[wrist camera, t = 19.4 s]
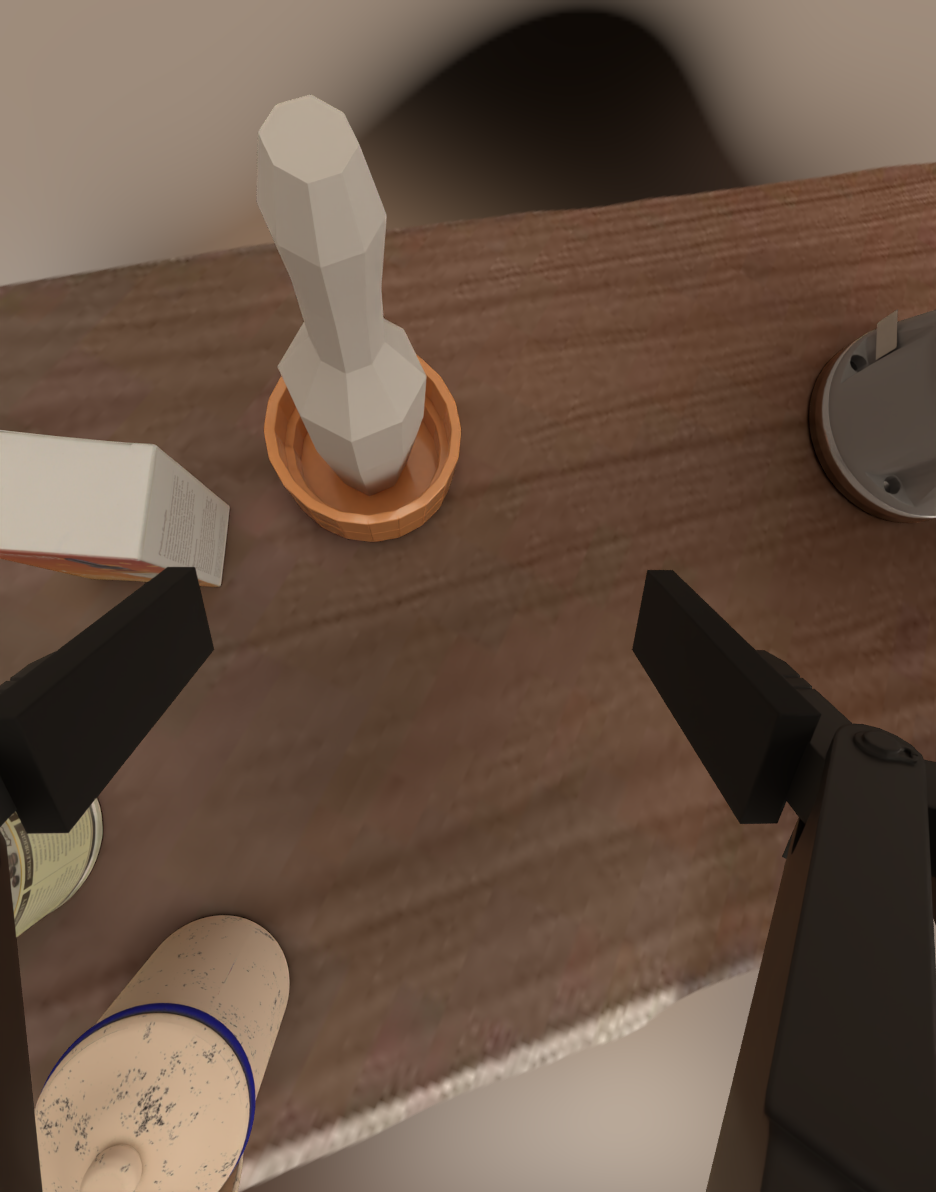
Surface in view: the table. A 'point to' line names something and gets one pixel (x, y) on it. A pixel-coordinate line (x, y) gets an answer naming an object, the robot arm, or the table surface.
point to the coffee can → (49, 865)
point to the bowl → (349, 507)
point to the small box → (106, 510)
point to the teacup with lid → (169, 1069)
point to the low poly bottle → (338, 296)
